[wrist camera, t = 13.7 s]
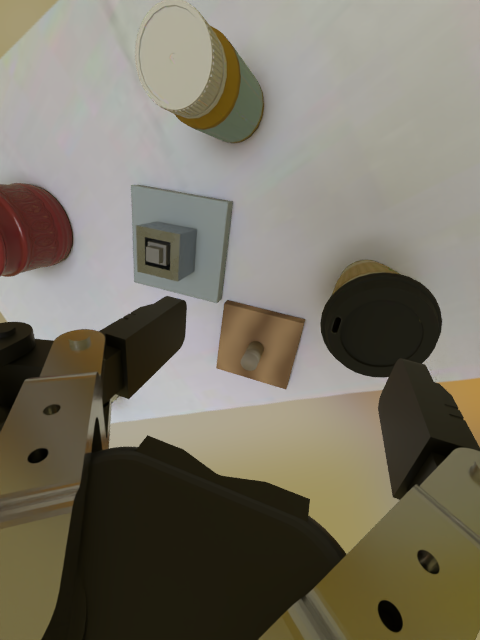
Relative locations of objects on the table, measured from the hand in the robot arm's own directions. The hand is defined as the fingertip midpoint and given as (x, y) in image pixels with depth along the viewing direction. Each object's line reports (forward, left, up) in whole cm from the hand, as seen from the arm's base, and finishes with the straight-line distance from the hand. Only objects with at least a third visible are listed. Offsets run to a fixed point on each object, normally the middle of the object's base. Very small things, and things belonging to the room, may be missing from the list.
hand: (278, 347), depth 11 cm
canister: (+45, +7, -30) cm, 54 cm away
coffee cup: (-7, +5, -30) cm, 31 cm away
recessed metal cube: (+19, +5, -27) cm, 33 cm away
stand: (+5, +18, -29) cm, 35 cm away
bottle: (+13, -12, -30) cm, 34 cm away
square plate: (+19, +5, -29) cm, 35 cm away
